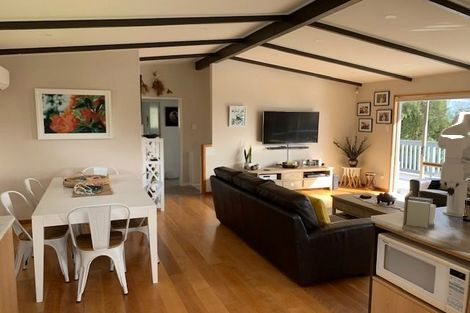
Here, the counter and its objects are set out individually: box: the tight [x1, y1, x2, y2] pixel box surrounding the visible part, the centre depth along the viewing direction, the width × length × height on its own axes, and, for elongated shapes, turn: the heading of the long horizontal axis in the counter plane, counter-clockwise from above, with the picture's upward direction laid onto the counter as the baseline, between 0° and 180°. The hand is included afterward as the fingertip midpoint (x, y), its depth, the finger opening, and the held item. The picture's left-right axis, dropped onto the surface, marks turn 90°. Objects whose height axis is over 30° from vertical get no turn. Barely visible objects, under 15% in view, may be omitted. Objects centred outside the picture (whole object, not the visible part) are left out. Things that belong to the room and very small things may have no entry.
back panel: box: [402, 190, 413, 225], centre depth 192 cm, size 19×1×15 cm, turn 145°
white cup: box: [429, 203, 437, 225], centre depth 188 cm, size 8×8×10 cm
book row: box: [405, 196, 430, 229], centre depth 183 cm, size 6×10×14 cm, turn 55°
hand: (450, 195), depth 181 cm, fingers closed
